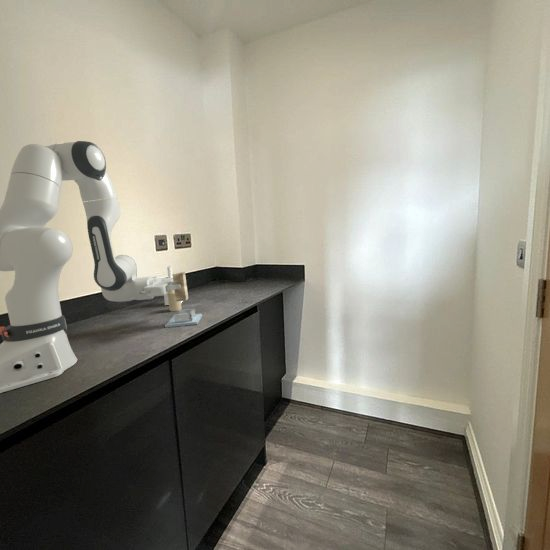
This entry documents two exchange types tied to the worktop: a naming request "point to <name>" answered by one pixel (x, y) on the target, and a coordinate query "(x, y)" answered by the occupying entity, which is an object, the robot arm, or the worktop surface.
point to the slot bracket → (185, 315)
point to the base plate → (193, 322)
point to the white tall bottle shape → (169, 277)
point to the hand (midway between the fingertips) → (182, 285)
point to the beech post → (182, 292)
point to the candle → (173, 301)
